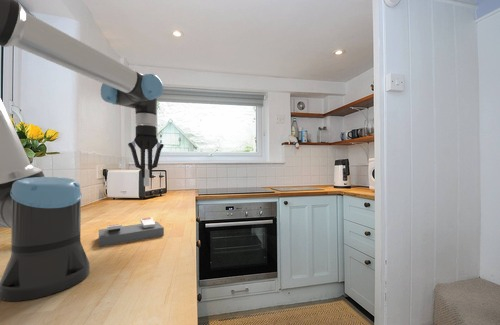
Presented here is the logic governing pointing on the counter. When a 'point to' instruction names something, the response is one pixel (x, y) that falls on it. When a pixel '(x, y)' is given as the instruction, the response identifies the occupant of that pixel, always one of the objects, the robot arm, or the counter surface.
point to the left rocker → (114, 226)
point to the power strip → (129, 234)
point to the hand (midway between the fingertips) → (146, 185)
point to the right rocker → (147, 222)
